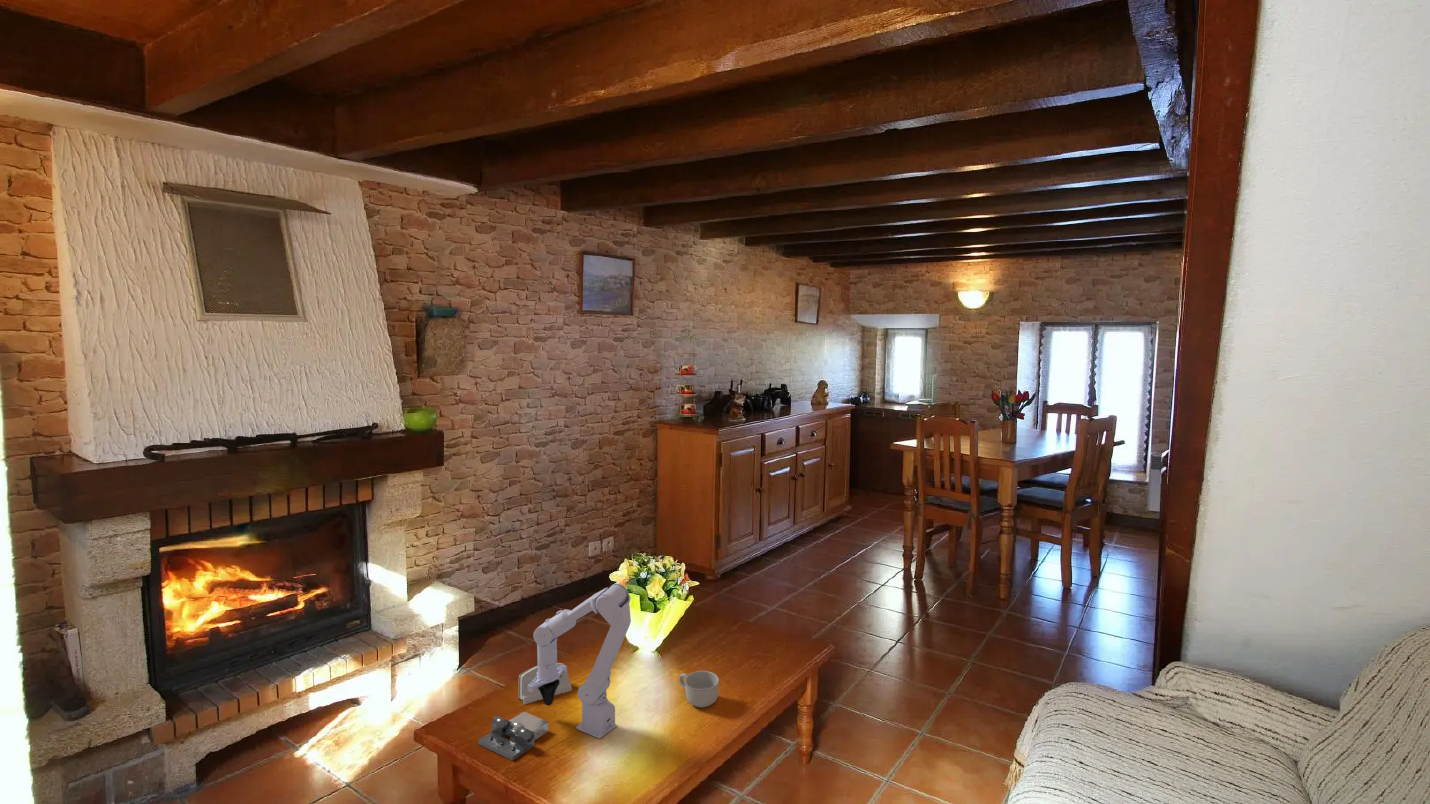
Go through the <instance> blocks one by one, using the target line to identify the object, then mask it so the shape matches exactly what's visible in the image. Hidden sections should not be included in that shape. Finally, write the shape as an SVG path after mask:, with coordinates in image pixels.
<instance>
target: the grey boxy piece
mask: <svg viewBox="0 0 1430 804" xmlns="http://www.w3.org/2000/svg"><path fill="white" fill-rule="evenodd" d="M508 721H509V722H510V736H509V740H511V741H513V742H515V732H516V730H517V729H518V728H519V727H520V726H522V727H524V728H526V729H528V730H531V731H533V732H534V741H536V740H537V739H539V738H540V737H541V736H544V735H545V734H547V733H548V732H549V721H546V720H544V719H543V718H541V717H538V716H536V715H533V714H531V713H528V712H526V711H523V712H521V713H519V714H517V715H516V716H514V717H512V718H511V719H509V720H508Z"/></svg>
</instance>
